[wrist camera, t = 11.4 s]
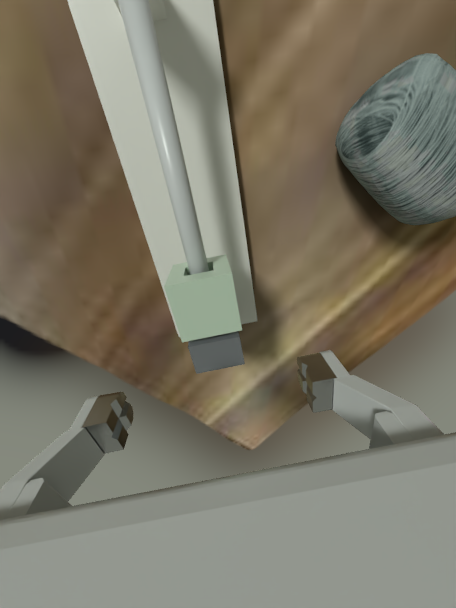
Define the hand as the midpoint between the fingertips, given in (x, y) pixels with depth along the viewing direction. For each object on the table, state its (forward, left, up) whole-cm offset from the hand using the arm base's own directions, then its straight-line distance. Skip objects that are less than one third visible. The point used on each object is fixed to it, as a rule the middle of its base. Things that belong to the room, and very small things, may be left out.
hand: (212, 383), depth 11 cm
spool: (-20, -7, -18) cm, 28 cm away
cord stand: (0, -7, -18) cm, 19 cm away
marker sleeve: (0, 0, -13) cm, 13 cm away
